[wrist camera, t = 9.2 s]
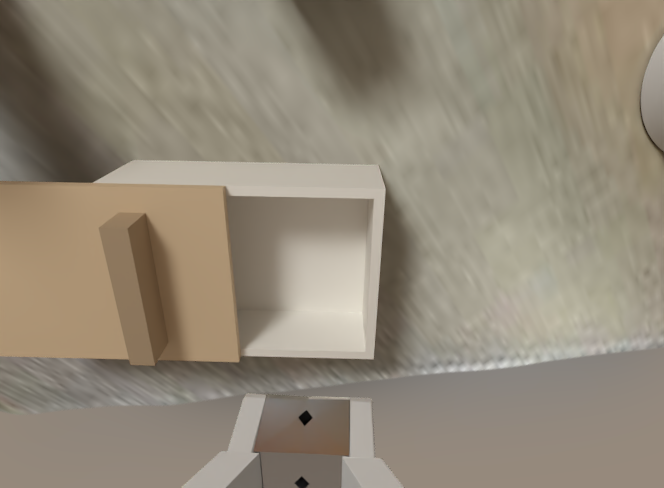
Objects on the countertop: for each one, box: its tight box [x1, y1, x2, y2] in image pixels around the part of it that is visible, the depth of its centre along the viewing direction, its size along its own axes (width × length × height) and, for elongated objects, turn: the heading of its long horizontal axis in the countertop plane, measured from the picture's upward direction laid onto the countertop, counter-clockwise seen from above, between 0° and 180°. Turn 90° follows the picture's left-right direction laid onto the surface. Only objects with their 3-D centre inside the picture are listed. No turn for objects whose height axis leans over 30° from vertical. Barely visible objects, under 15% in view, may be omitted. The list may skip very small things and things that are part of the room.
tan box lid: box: [0, 181, 241, 366], centre depth 34 cm, size 22×16×4 cm
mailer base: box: [93, 160, 386, 359], centre depth 39 cm, size 22×16×7 cm
